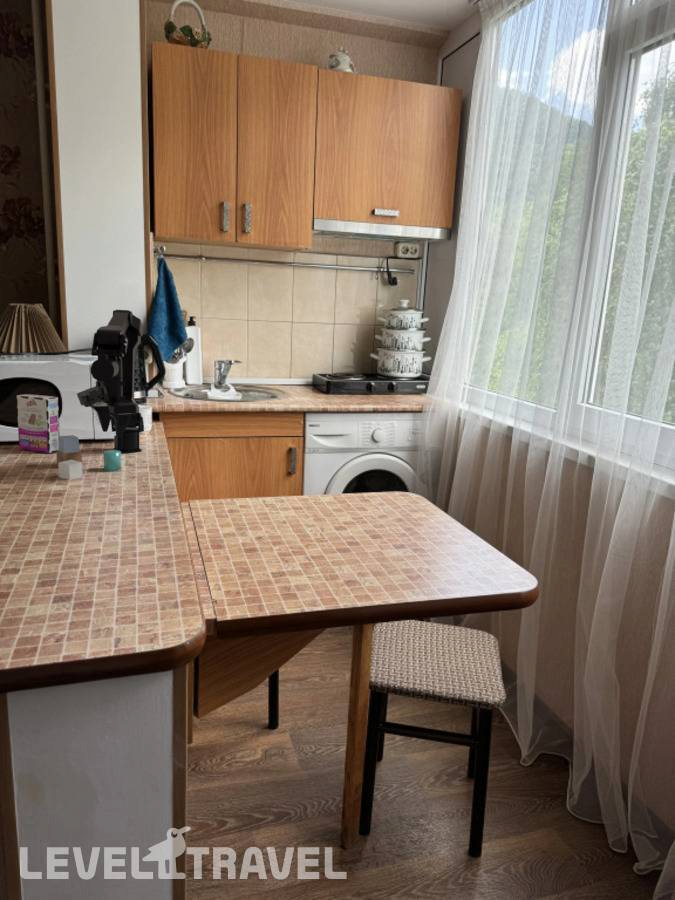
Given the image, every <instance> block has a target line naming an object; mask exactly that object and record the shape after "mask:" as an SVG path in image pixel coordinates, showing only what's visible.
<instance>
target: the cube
mask: <svg viewBox="0 0 675 900" xmlns="http://www.w3.org/2000/svg"><path fill="white" fill-rule="evenodd" d="M57 466H58V478H60V479H64V480H68V481H71V480H74V479H78V478H79V479H80V478H82V477H83V461H82V462H79V461H75V460H68V461H63V462H58V465H57Z"/></svg>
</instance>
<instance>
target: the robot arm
mask: <svg viewBox="0 0 675 900" xmlns="http://www.w3.org/2000/svg"><path fill="white" fill-rule="evenodd" d="M143 333H144V327H143V323H142V320H141V318H139V317H137V316H136V315H134V314H133V312H132V310H131V311H130V310H128V309H115V310H113V311H112V317H111V318H110V320H109V322H108V324H107V325H106V326H103V325H102V326H100V327H99V328H97V329H96V332H94V334H93V339H92V345H91V353H90V355H91V356H92V357H95V356H96V357H97V359H96V360H94V361H93V362H92V363H91V366H90V374H91V376H92V378H94V380H95V386H93V387H90V388H86V389H84V390H82V391H80V392H77V393H76V396H77V399H78V401H79V403H80V405H81V406H84V407H85V408H91V409H93V410H94V411H95V412H96V415H97V418H98V421H99V423H100V426H101V431H102V432H103V433H106V432H108V429H109V428H110V425H111V432H113V433H114V432H115V435H114V437H113V438H114V439H113V440H114V441H113V446H114V447H113V450H118V451H121V454H127V453H128V454H129V453H137V452H143V449H142V448H140V433H142V432H143V433H144V431H145V425H144V424H145V423H144V418H143V416H142V413H141V412H140V406H139V404H138V403H137V401H136V399H135V368H136V367H135V364H136V363H135V361H136V356H135V355H136V350H137V348H138V346H139V345H140V344H141V340H142V339H141V338H142V337H143V335H144V334H143Z"/></svg>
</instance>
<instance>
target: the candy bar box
mask: <svg viewBox="0 0 675 900" xmlns="http://www.w3.org/2000/svg"><path fill="white" fill-rule="evenodd" d="M59 406H60V405H59V397H58V396H51V395H40V394H31V393H25V394H19V395H17V394H16V408H17V412H16V413H17V428H18V429H17V431H18V449H19V450H21V451H27V452H28V451H29V452H36V453H43V454H44V453H45V454H53V453H57V452H56V450H59V441H58V436H61V434H60V412H59V411H60V410H59Z"/></svg>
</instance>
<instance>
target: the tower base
mask: <svg viewBox="0 0 675 900" xmlns="http://www.w3.org/2000/svg"><path fill="white" fill-rule="evenodd" d="M55 453H56V465H57V466H58V462H63V461H68V460H75V461H79V462H82V463H83V458H82V457H83V456H82V455H83V454H82V453H83V452H82V451H80V450H79V452H74V453H65V454H64V453H62V452H60V451H59V450H56V452H55Z"/></svg>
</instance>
